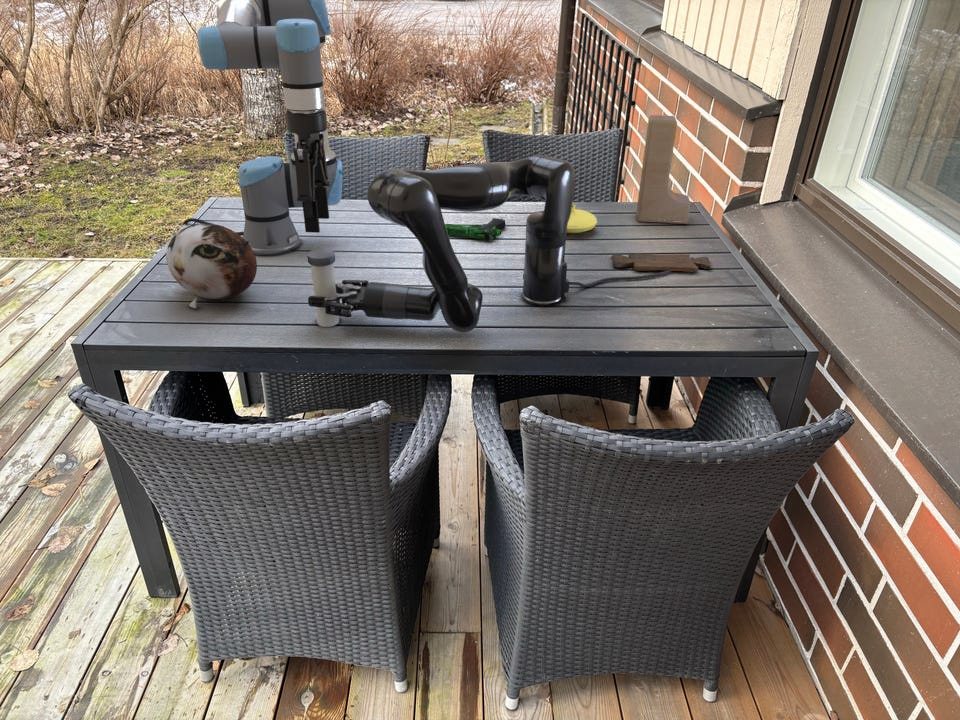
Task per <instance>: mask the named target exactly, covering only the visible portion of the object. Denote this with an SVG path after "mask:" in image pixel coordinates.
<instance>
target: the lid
mask: <svg viewBox="0 0 960 720" xmlns="http://www.w3.org/2000/svg"><path fill="white" fill-rule="evenodd" d="M335 262H336V255H335V251H334V250H333V249H330V248H315V249H312V250H310V251H308V252H307V263H308V264H309V265H310V266H311V265H312V266H328V265H331V264H333V265H334V263H335Z"/></svg>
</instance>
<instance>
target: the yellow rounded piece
mask: <svg viewBox="0 0 960 720" xmlns="http://www.w3.org/2000/svg"><path fill="white" fill-rule="evenodd" d="M597 223H598V219H597V217H596V215H595V214H593V213H591V212H589V211H587V210H584V209H578V208H576V205H575V204H572V209H571V215H570V219H569V221H568V224H567V233H566V234H580V233H584V232H585V233H586V232H587V231H591V230H592V229H594V228H596V226H597Z"/></svg>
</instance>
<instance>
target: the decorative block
mask: <svg viewBox="0 0 960 720" xmlns="http://www.w3.org/2000/svg"><path fill="white" fill-rule="evenodd" d="M677 127H678V121H677V119H676V117H675V116H674V115H659V114H651V115H649V116H648V121H647V128H646V136H645V143H644V151H643V160H642V167H641V175H640V181H639V182H640V183H639V190H638V191H639V192H638V195H637V196H638V197H637V205H636V212H635V213H636V218H637V219H636V220H637V221H638V222H645V223H646V222H647V223H648V222H649V223H664V224H678V225H679V224H680V225H681V224H682V225H686V224H688V222H689V219H690V212H691V207H692V203H691V200H690V198H689V195H688V194H683V193H680V192H679V193H678V192H674V191H673V190H672V189H671V188H670V186H669V181H670V174H671V167H672V160H673V154H674V147H675V140H676V134H677ZM659 220H660V221H659ZM664 220H665V221H664ZM674 221H682V222H674ZM683 221H684V222H683Z"/></svg>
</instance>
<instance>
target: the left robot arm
mask: <svg viewBox="0 0 960 720" xmlns="http://www.w3.org/2000/svg"><path fill="white" fill-rule="evenodd" d="M215 13H216V18H217V21H216V24H215V25H210V26H202V27H200V28H199V29H198V30H197V34H196V35H197V47H198V53H199V58H200V61H201V64H202V66H203V67H204V68H205V69H207V70H217V71H223V72H224V71H226V70H228V71H229V70H231V71H232V70H257V69H258V70H266V69H267V70H268V69H269V70H270V69H271V70H272V69H273V70H275V69H280V76H281V84H282V85H281V86H282V90H281V91H280V95H281V96H282V97H283V101H284V107H285V109H286V112H285V120H286V130H287V131H288V132H289V133H291V134H293V135H294V137H293V138H294V144H295V145H294V146H295V148H293V150H292V151H293V152H292V153H291V155H290V162H284V160H283V158H282V157H281V156H273V155H269V156H261V157H257V158H253V159H250V160H247V161H246V162H243V163H242V164H241V165H240V166H239V168H238V170H237V174H238V186H239V189H240V194H241V195H240V196H241V201H242V207H243V212H244V213H243V215H244V219H245V220H244V226H243V228H244V229H243V231H235V232H236V233H237V234H239V235H240V236H242V237H243V238H244V239H245V240H246V241H249V242H248V244H249V245H250V247H251V248H252V250H253V252H254V254H255V256H256V255H257V256H275V255H281V254H282V255H283V254H285V253H289V252H291V251H293V250H296V249H297V248H298V247H299V246H300V244H301V241H300V235H299V233H298V231H297V229H296V227H295V225H294V223H293V220H292V218H291V216H290V209H293V208H294V209H295V208H297V209H298V208H302V211H303V221H304V229H305V233H316V234H318V233H320V232H321V228H320V220H329V219H330V210H329V207H330V206H336V205H338V204H339V203H340V202H341V201H342V194H343V162H342V160H339V159H337V154H336V153H335V152H334V151H333V150H332V149H331V148H330V143H329V139H330V138H329V130H328V119H327V108H326V97H325V87H324V86H325V85H324V77H323V64H322V55H321V50H322V48H323V47H324V46H325V44H326V43H327V40H326V36H329V35H331V34H332V30H331V25H330V20H329V15H328V9H327V5H326V1H325V0H218V2H217V4H216V10H215ZM191 222H192V223H197V224H204V223H206V224H213V223H212V222H209V221H205V220H202V219H199V218H195V217H190V218H187V219H185V220H184V221H183V223H182V225H187V224H189V223H191Z"/></svg>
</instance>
